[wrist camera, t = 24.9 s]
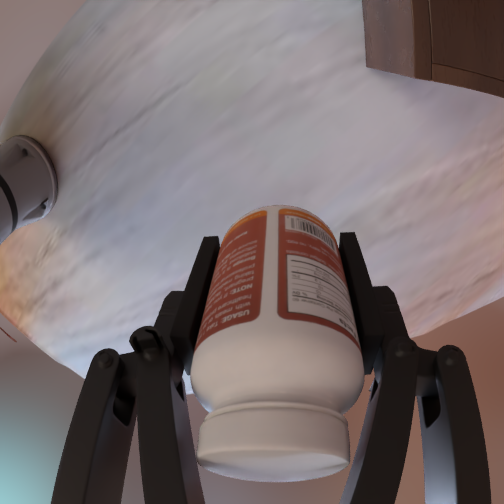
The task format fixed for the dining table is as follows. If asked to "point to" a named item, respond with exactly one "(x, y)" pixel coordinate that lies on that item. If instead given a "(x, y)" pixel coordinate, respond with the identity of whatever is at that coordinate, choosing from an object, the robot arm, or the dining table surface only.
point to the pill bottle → (277, 352)
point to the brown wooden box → (438, 41)
